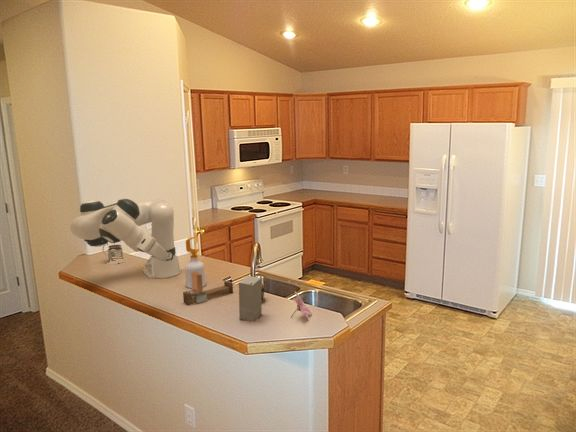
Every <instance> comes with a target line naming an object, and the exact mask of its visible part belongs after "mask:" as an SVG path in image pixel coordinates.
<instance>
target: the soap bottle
mask: <svg viewBox="0 0 576 432" xmlns="http://www.w3.org/2000/svg"><path fill="white" fill-rule="evenodd" d="M197 237H198V235H195V236H194V235H193V236H191V237H189V238H187V239H186V240H185V249H186V251H187V253H190V254H191V255H190V261H189V262H187V263H186V264H185V266H184V267H185V268H184V269H185V285H186V286H185V287H187V288H188V289H192V276H191V273H193V272H198V273H200V274H202V287H203V288H204V287H205V285H206V273H205V271H206V270H205V264H204V263H203V262H202V261H200V260H199V259H198V258H199V257H198V255H197V252H199V251H200V249H199V248H198V249H197V248H191V240H193V239H196V238H197Z"/></svg>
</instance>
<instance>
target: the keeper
mask: <svg viewBox="0 0 576 432" xmlns="http://www.w3.org/2000/svg"><path fill="white" fill-rule="evenodd" d="M191 276H192V288H191V289H190V290H188V292H190V293H191V294H192V295H194V296H195V301H196V303H195V304H200V303H203V302H207V301H208V300H207V294H206V290H204V289H203V288H204V286H203V287H202V274H200V273H198V272H193V273H191Z"/></svg>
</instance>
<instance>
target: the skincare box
mask: <svg viewBox="0 0 576 432" xmlns="http://www.w3.org/2000/svg"><path fill="white" fill-rule="evenodd" d="M261 283H262V277H258V276H250V275H247V276H246V277H244V278H243V279H241V280H240V281H239V282H238V303H239V304H238V308H239V312H238V313H239V320H241V319H242V320H241V321H247V320H249V321H248V322H255V321H256V320H257V319H258V318H259V316H261V315H262V309H263V308H262V302H261Z"/></svg>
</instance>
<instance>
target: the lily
mask: <svg viewBox="0 0 576 432" xmlns="http://www.w3.org/2000/svg"><path fill="white" fill-rule="evenodd" d="M294 293H295V296H296V298H292V300H293V301H294V302H295V303H296V304H297V305H296V310H294V312H293V313H292V315H291V316H290V318H291V319H292V318H293V316H294V315H295V313H296V312H297V311H298V312H301V314H303V315H304V316H305V317H306V319H307V320H308V321H310V318H309V316H308V314H309V315H313V314H312V312H311V310H310V308H308V307H307V305H305V303H304V301H303V300H301V297H300V295H299V294H298V292H297V291H296V290H294Z"/></svg>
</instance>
